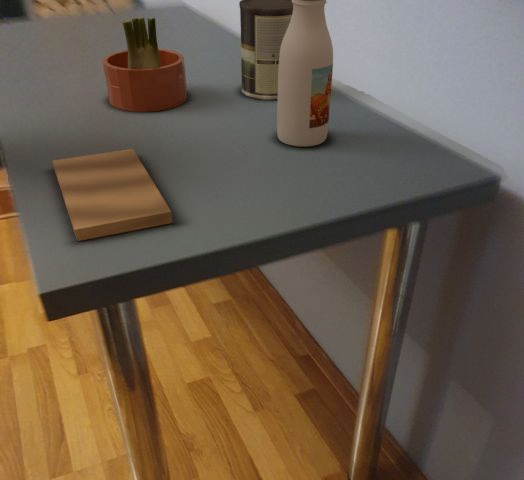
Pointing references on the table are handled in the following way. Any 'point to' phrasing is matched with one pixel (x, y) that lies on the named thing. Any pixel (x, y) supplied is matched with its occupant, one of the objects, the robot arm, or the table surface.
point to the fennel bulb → (141, 44)
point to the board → (109, 194)
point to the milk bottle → (305, 76)
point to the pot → (146, 82)
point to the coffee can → (262, 45)
